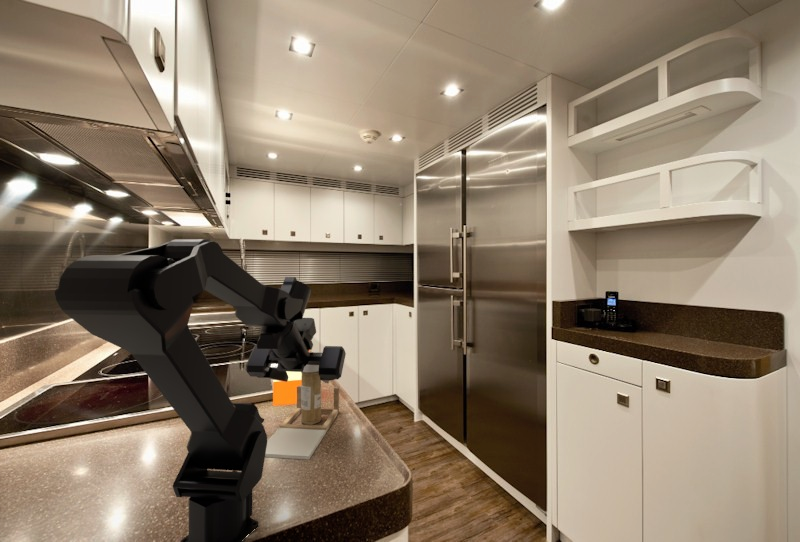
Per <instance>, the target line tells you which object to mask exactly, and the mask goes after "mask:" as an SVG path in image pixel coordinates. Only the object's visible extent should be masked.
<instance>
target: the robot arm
mask: <svg viewBox="0 0 800 542" xmlns="http://www.w3.org/2000/svg"><path fill="white" fill-rule="evenodd" d="M58 282H59V283H58V287H57V288H56V289H55V290H54V296H55V300H56V302H57V304H58V305H59V308H60V309H61V311H62V312H64V314H66V316H68V317H69V318H71V319H72V320H73V321H75V322H76V323H77V324H78V325H79V326H81V327H82V329H85V331H87V332H88V333H89V334H91V335H93V336H95V337H97V338H99V339H101V340H104V341H105V342H107V343H110V344H112V345H114V346H116V347H119V348H121V349H122V350H125V351H127V352H128V353H129V354H130V355H132V357H133V358H134V360H136V362H137V363H138V365H139V366H140V367H141V368H142V370H143V371H144V372H145V374H146V375H147V377H148V378H149V380H151V382H152V383H153V384H154V386H155V387H156V388H157V389H158V391H159V392H160V394H161V395H162V396H163V397H164V398H165V400H166V401H167V403H168V404H169V405H170V407H172V410H174V412H175V413H176V414H177V415H178V417H179V418H180V419H181V421H182V422H183V423H184V425H185V426H186V427H187V429H189V431H190V435H189V439H188V441H187V444H186V450H187V454H186V456H185V458H184V461H183V462H182V465H181V467H180V469H179V471H178V472H177V473H178V474H177V475H176V477H175V479H174V482H173V485H172V488H173V491H174V494H175V498H182V497H184V498H188V535H186V536H185V537H183V538H182V539H181V540H180V542H243V541H244V540H245V539H246V538H245V537H246V536H247V535H248V534H250V533H251V532H252V531H253V530H254V529H256V528H257V527H258V528H259V525H260V523H259V521H258V520H256V519H253V518H252V516H253V490H254V488H255V487H256V486H257V485H258V483H259V482H260V481H261V480H262V478H263V470H264V465H265V459H266V457H265V453H266V447H267V441H268V434H267V433H266V430H265V429H266V428H265V427H264V425H263V423H264V421H265V418H263V417H262V416H261V415H260V413H259V408H258V407H257V406H256V404H255V403H251V402H250V403H249V402H232V400H231V398H230V396H229V395H228V394H227V392H226V390H225V388H224V386H223V385H222V383H221V382H220V380H219V378H218V376H217V375H216V372H215V371H214V368H213V367H212V366H211V364H210V363H209V361H208V359H207V357H206V355H205V354H204V352H203V350H202V348H201V346H200V345H199V343H198V342H197V340H196V339H195V337H194V334H193V333H192V331H191V330H190V327H189V321H190V317H191V313H192V310H193V307H194V303H195V302H194V299H193V298H194V297H195V296H197V295H198V294H199V293H201V292H203V291H206V292H208V293H209V294H211V295H212V296H214V297H216V298H218V299H219V300H222V301H223V302H225V303H227V304H228V305H230V306H231V307H233V308H234V309H235V312H234V316H235V317H236V318H237V319H238V320H239V321H241V323H242V324H244V325H245V326H248V327H260V329H259V337H258V340H257V342H256V345H254V347H253V348H252V350H251V352H250V355H249V357H248V360H247V362H246V364H245V371H246V373H247V374H248V375H249V377H257V378H259V379H265V380H272V381H273V380H278V381H284V382H287V381H288V375H287V372H286V371H290V372H303V370H304V367H305V366H306V365H319V376H320V380H321V382H323V383H325V384H329V382H330V381H334V380H339V379H340V378H341V377H342V373H343V368H344V365H345V361H346V359H345V358H346V355H347V353H346V350H345V348H344V347H343V346H341V345H339V346H338V345H337V346H335V345H325V346H324V347H323V350H322V352H314V351H313V352H311V351H312V350H313V347H314V343H313V341H312V340H313V338H314V337H315V335H316V333H317V328H316V323H315V318H313V317H304V314H305V311H306V308H307V306H308V302H309V300H310V296H311V293H312V290H311V288H310V286H308V285H307V284H306V283H304V282H303V281H299V280H298V279H297V278H296V276H285V277H284V279H283V282H282V284H281V286H280V287H275V286H272V285H271V286H270V285H266V284H263V283H262V282H260V281H259V280H258V279H256V278H255V277H253V275H251V274H250V273H249V272H248V271H247V270H245V269H244V268H243V267H241V266H240V264H238V263H237V262H235V260H233V259H232V258H230V257H229V256H228V255H227V254H225V253H224V252H223V249H222V246H221V245H220V244H219V243H218V242H216V241H213V240H211V239H210V238H209V239H208V238H206V239H204V238H203V239H201V238H199V239H198V238H197V239H196V238H195V239H194V238H193V239H192V238H191V239H189V238H188V239H186V238H185V239H184V238H183V239H179V238H178V239H177V238H176V239H172V240H169V241H166V242H164V243H162V244H158V245H156V246H152V247H148V248H143V249H136V250H133V251H129V252H124V253H120V254H119V253H118V254H109V255H108V254H102V255H101V254H99V255H97V254H96V255H85V256H83V257H80V258H77V259H76V260H73V262H71V263H70V264H69V265H68V266H66V268H65V270H64V271H63V273H62V274H61V276H60V278H59V281H58ZM309 350H310V352H309ZM258 528H257V529H258ZM257 529H256V530H257ZM253 532H254V531H253ZM253 532H252V533H253ZM252 533H251V534H252ZM251 534H250V535H251ZM244 538H245V539H244ZM243 539H244V540H243ZM242 540H243V541H242Z"/></svg>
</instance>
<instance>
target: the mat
mask: <svg viewBox="0 0 800 542" xmlns="http://www.w3.org/2000/svg"><path fill="white" fill-rule="evenodd" d="M327 432H328V430H327V429H326V430H314V429H293V428H278V429H277V430H276V431H275V432H274V433H273V434H272V435H271V436H270V437H269V438H267V447H266V453H265V458H275V459H293V460H294V459H295V460H310V459H311V458H312V456H313V454H314V453H315V451H316V449H318V446H319V444H320V443H321V441H322V440H323V438H324V437H325V435H326V433H327Z"/></svg>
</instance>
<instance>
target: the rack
mask: <svg viewBox="0 0 800 542" xmlns="http://www.w3.org/2000/svg"><path fill="white" fill-rule="evenodd" d="M301 410H302V408H301V386H297V404H296V408H295V409H294V410H293V411H292V412H291V413H290V414H289V415H288V416H287V418H285V420H284V421H283V422H282V423H281V424H280V425H279V428H293V429H314V430H326V429H327V431H328V430H329V429H330V427H331V426H332V423H334V421H335V419H336V418H337V416H338V415H339V412H340V386H335V387H333V407H328V406H326V407H322V406H321V414H326V413H330V414H329V416H328V417H327V419H326V421H325V422H324V423H323V424H322V425H319V424H318V425H317V424H312V425H306V424H299V423H298V424H297V423H295V424H293V423H292V422H294V421H295V419H297V417H298V416H299V415H301V414H302V411H301ZM337 414H338V415H337ZM279 428H278V429H279Z"/></svg>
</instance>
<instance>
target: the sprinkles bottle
mask: <svg viewBox="0 0 800 542" xmlns="http://www.w3.org/2000/svg"><path fill="white" fill-rule="evenodd" d="M301 373H302V376H301V379H302V380H301V408H302V410H301V411H302V412H301V418H300V422H301V424H302V425H317V423H320V422H321V420H322V413H321V407H322V381H321V380H320V376H319V365H306V366H305V367H304V370H303V372H301Z"/></svg>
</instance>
